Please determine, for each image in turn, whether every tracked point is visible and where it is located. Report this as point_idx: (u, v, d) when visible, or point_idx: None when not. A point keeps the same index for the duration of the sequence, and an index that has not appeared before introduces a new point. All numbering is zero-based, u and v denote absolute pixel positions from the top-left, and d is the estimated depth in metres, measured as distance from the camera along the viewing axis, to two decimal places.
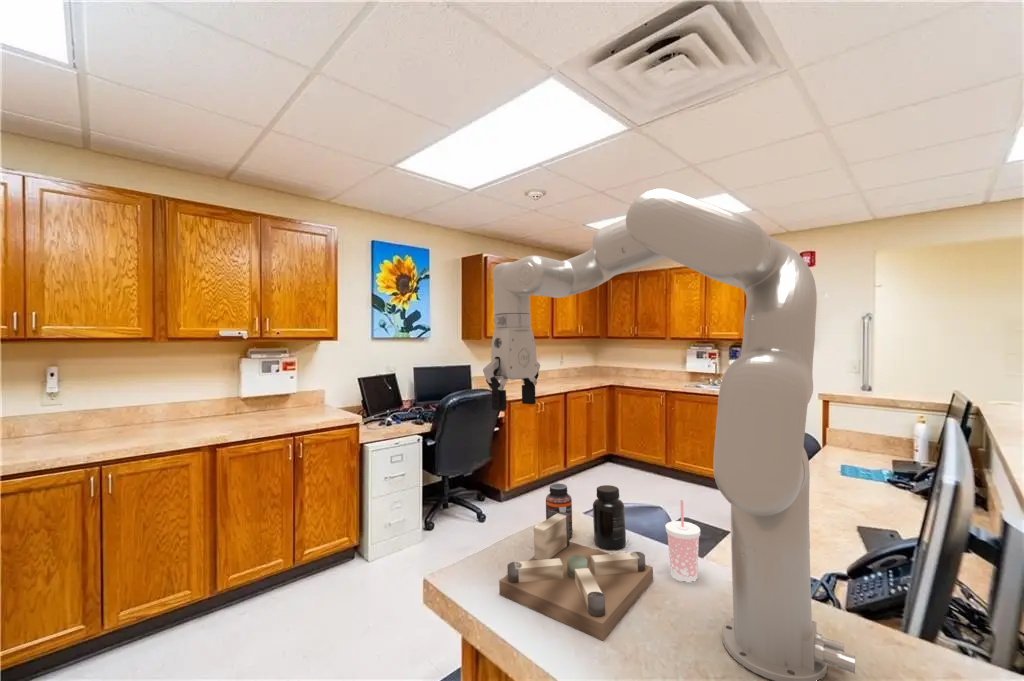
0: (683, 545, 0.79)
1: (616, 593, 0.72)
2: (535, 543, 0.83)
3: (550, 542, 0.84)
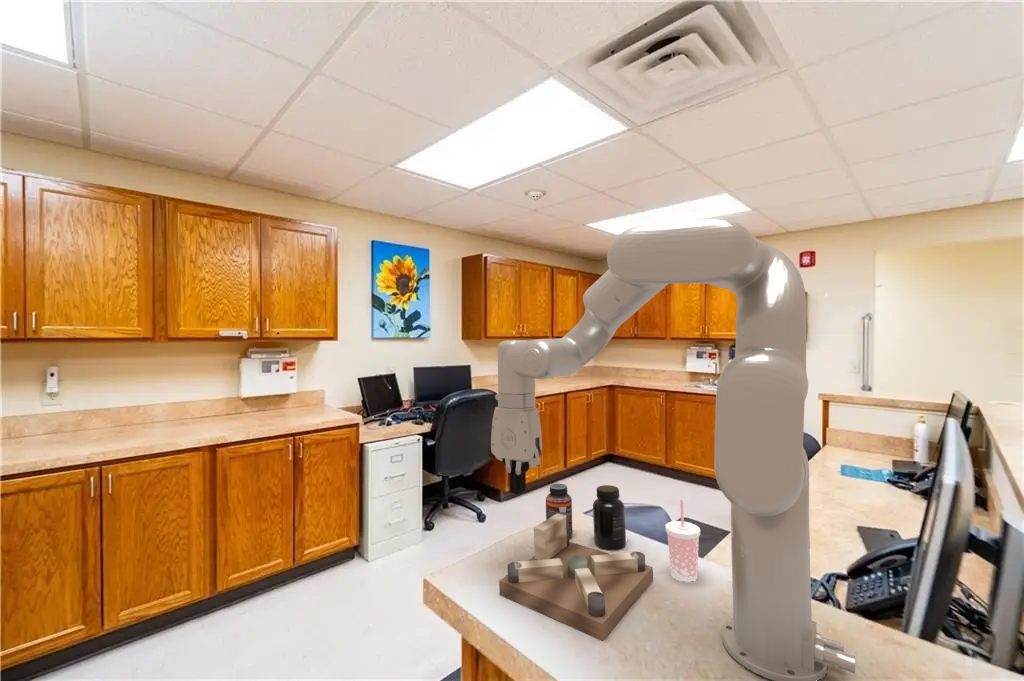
0: (683, 545, 0.79)
1: (616, 593, 0.72)
2: (535, 543, 0.83)
3: (550, 542, 0.84)
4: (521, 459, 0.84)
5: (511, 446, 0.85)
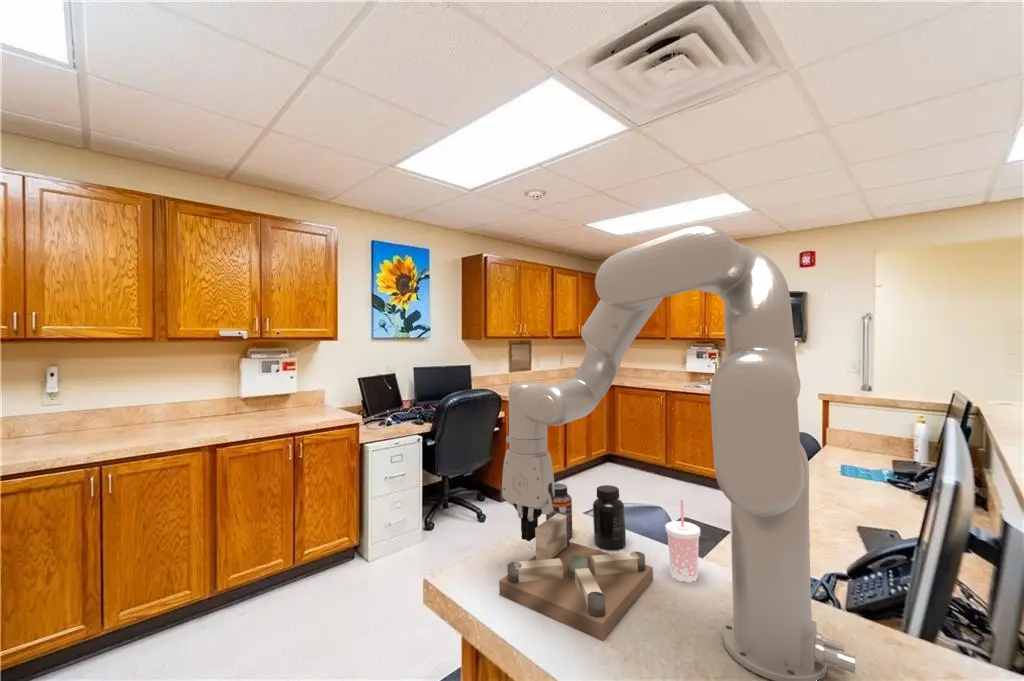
0: (684, 545, 0.79)
1: (616, 593, 0.72)
2: (536, 544, 0.83)
3: (552, 542, 0.84)
4: (534, 506, 0.82)
5: (523, 492, 0.83)
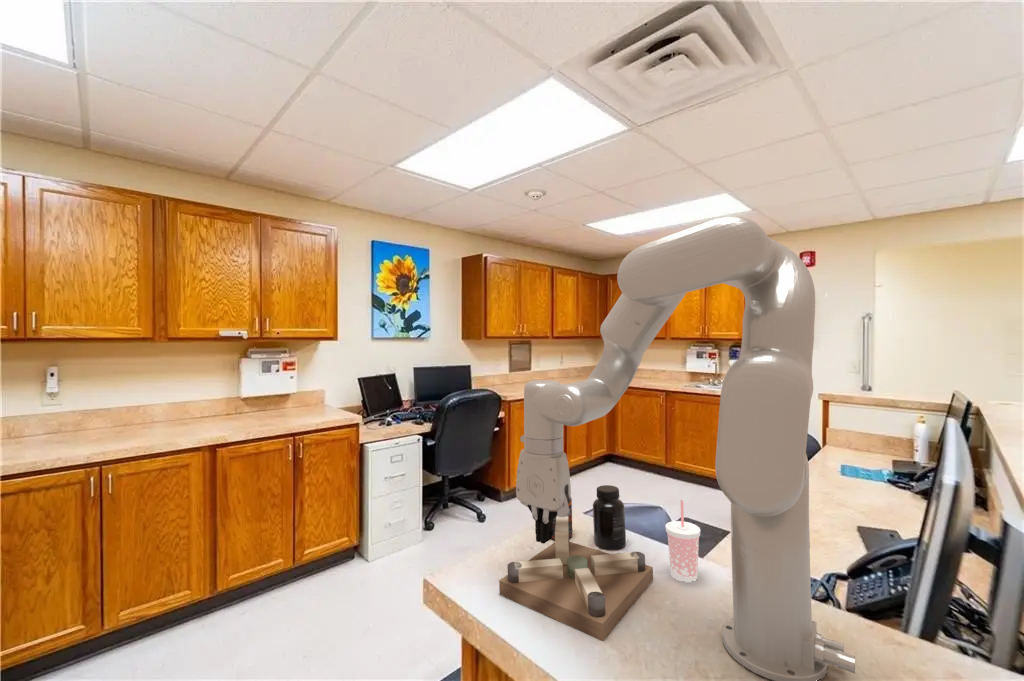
0: (684, 545, 0.79)
1: (616, 593, 0.72)
2: (557, 548, 0.81)
3: None
4: (549, 508, 0.79)
5: (538, 494, 0.81)
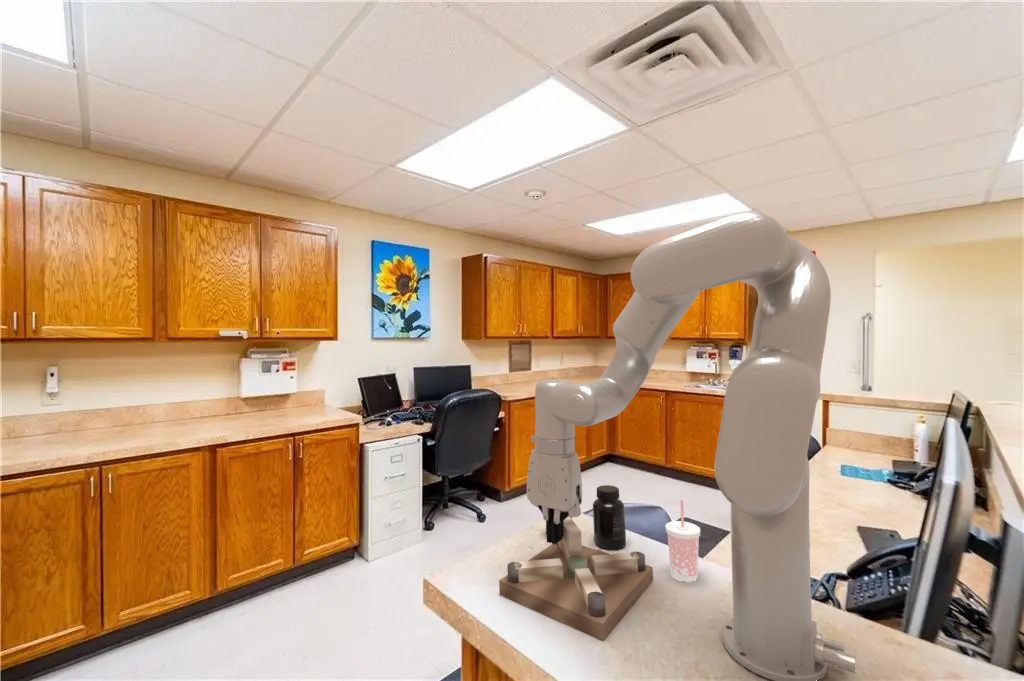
0: (683, 545, 0.79)
1: (616, 593, 0.72)
2: (570, 548, 0.81)
3: None
4: (561, 509, 0.79)
5: (550, 494, 0.80)
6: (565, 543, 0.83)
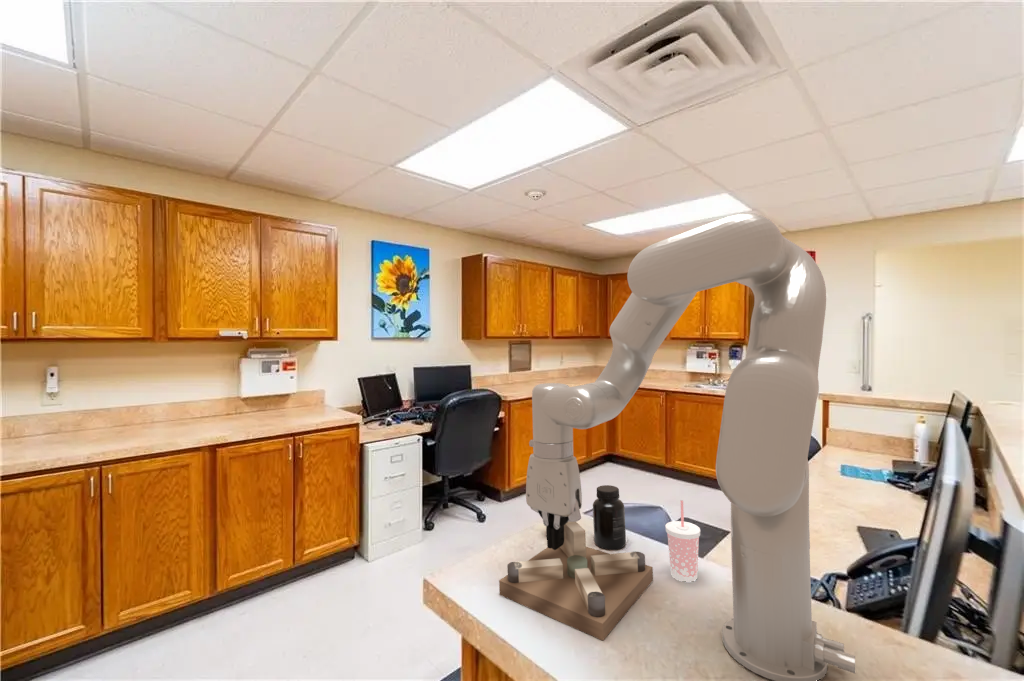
0: (684, 545, 0.79)
1: (616, 593, 0.72)
2: (575, 548, 0.81)
3: None
4: (561, 513, 0.78)
5: (549, 499, 0.79)
6: (568, 543, 0.83)
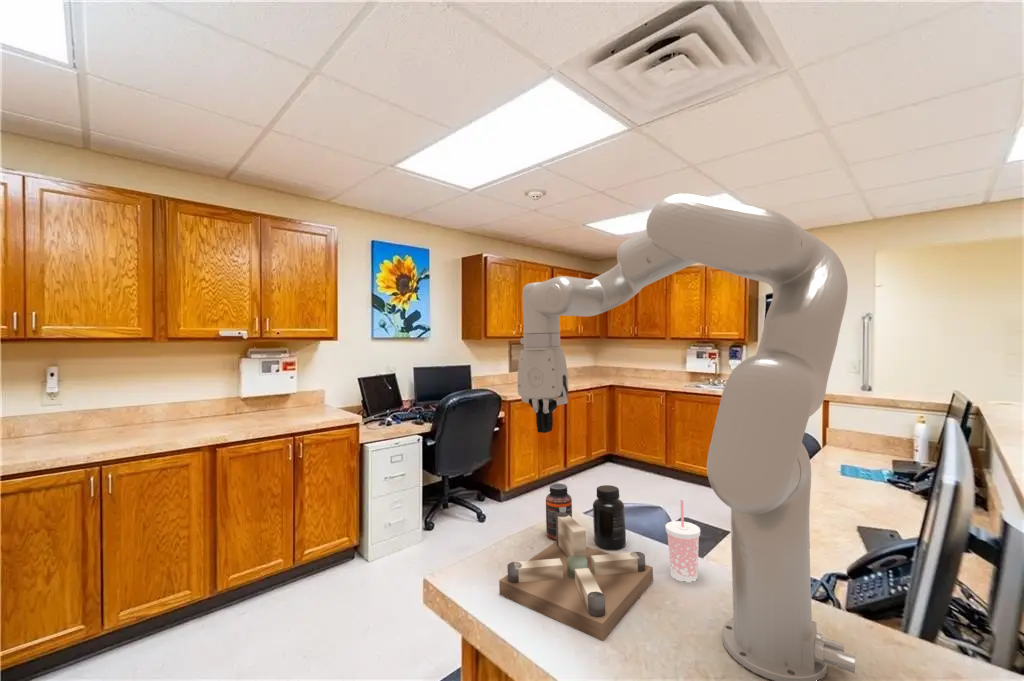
0: (684, 545, 0.79)
1: (616, 593, 0.72)
2: (575, 548, 0.81)
3: None
4: (549, 396, 0.86)
5: (538, 385, 0.87)
6: (568, 543, 0.83)
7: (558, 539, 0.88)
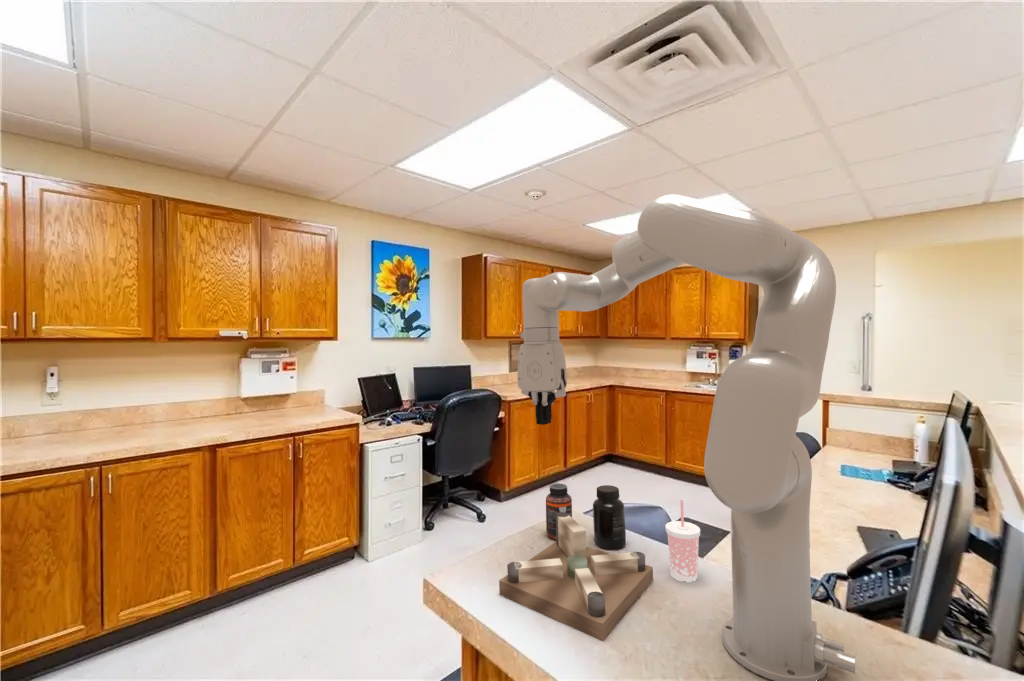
0: (683, 545, 0.79)
1: (616, 593, 0.72)
2: (575, 548, 0.81)
3: None
4: (548, 389, 0.88)
5: (537, 378, 0.89)
6: (568, 543, 0.83)
7: (558, 539, 0.88)
